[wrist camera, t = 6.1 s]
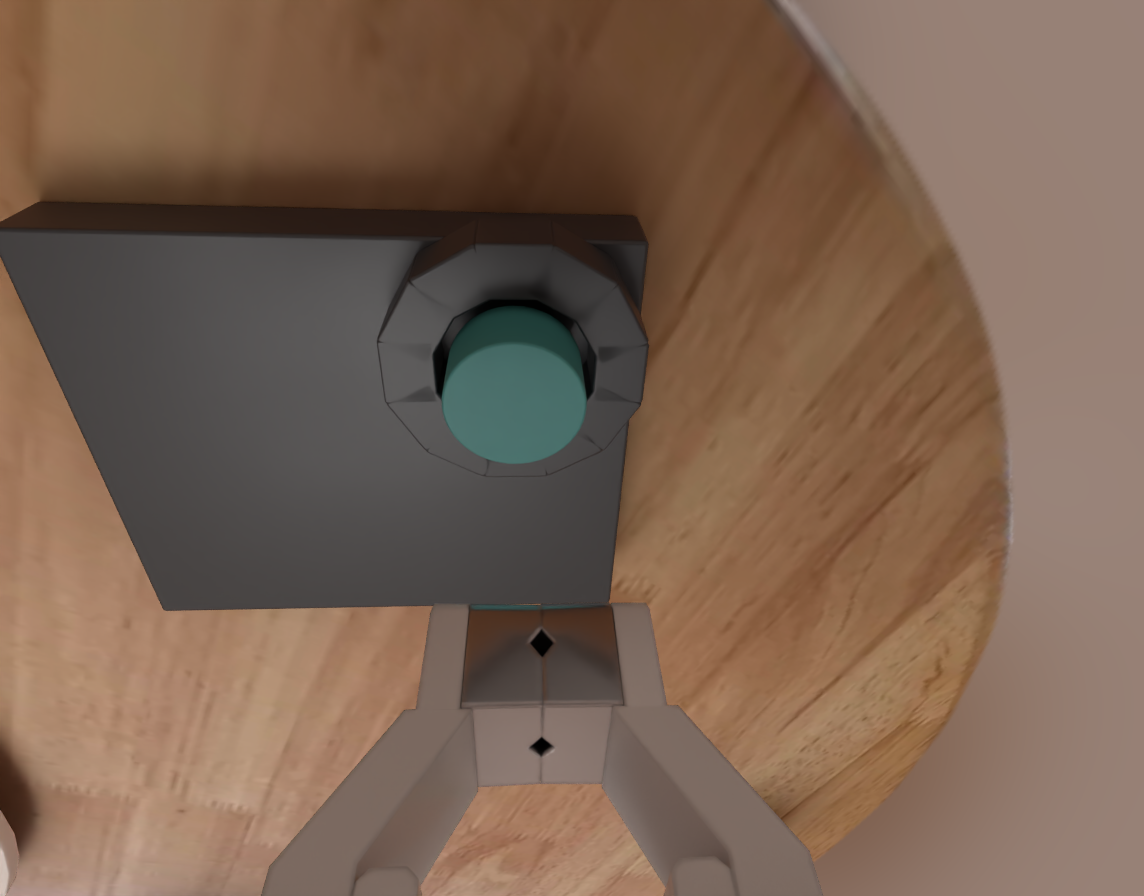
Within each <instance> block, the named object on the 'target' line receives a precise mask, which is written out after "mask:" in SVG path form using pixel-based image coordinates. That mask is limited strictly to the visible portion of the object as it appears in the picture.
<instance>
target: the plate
mask: <svg viewBox="0 0 1144 896" xmlns="http://www.w3.org/2000/svg"><path fill="white" fill-rule="evenodd" d="M18 862H19V852H18V848H17V843H16V839H15V834H14V832H13V830H12V829H11V827H10V825H9V824H8V822H7V820H6V818H5V817H4V815H3V813H2V812H1V810H0V896H6V894H7V893H8V891H9V889H10V887H11V885H12V883H13V881H14V880H15V878H16V873H17V868H18Z"/></svg>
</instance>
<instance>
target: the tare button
mask: <svg viewBox="0 0 1144 896" xmlns="http://www.w3.org/2000/svg"><path fill="white" fill-rule="evenodd" d="M586 408H587V397H586V390H585V383H584V376H583V369H582V363H581V356H580V351H579V348H578V345H577V343H576V341H575V339H574V337H573V336H572V334H571V333H570V332H569V330H568V329H567V328H566V327H565V326H564V325H563V324H562V323H561V322H559V321H558V320H557V319H555V318H554V317H552V316H551V315H549V314H547V313H545V312H543V311H540V310H537V309H534V308H530V307H525V306H503V307H497V308H494V309H490V310H487V311H485V312H483V313H481V314H479V315H477V316H476V317H474V318H472V319H471V320H470V321H469V322H467V323H466V324H465V325H464V326H463V327H462V328H461V330H460V331H459V332H458V334H457V335H456V337H455V339H454V341H453V343H452V345H451V348H450V352H449V357H448V363H447V369H446V375H445V380H444V386H443V392H442V411H443V415H444V419H445V422H446V424H447V426H448V428H449V429H450V431H451V432H452V434H453V435H454V437H455V438H456V439H457V440H458V441H459V442H460V443H461V444H462V445H463V446H464V447H465V448H467V449H468V450H470V451H471V452H473V453H475V454H476V455H478V456H480V457H483V458H485V459H488V460H491V461H495V462H500V463H506V464H524V463H530V462H535V461H539V460H542V459H544V458H547V457H549V456H551V455H553V454H555V453H557V452H558V451H560V450H561V449H563V448H564V447H565V446H566V445H567V444H569V443H570V442H571V440H572V439H573V438H574V437H575V436H576V434H577V433H578V431H579V430H580V428H581V426H582V424H583V421H584V418H585V415H586Z"/></svg>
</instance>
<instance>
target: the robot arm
mask: <svg viewBox="0 0 1144 896" xmlns="http://www.w3.org/2000/svg"><path fill="white" fill-rule="evenodd" d="M527 784H602V788H603V790H604V791H605V793H606V795H607V796H608V798H609V799H610V801H611V802H612V804H613V806H614V807H615V809H616V810H617V812H618V813H619V815H620V817H621V818H622V820H623V821H624V823H625V824H626V826H627V828H628V829H629V831H630V832H631V834H632V835H633V837H634V839H635V840H636V842H637V843H638V845H639V846H640V848H641V850H642V851H643V853H644V854H645V856H646V857H647V859H648V861H649V862H650V864H651V865H652V867H653V868H654V870H655V872H656V873H657V875H658V876H659V878H660V880H661V881H662V883H663V884H664V886H665V887H666V889H665V893H664V896H823V894H822V891H821V887H820V884H819V881H818V877H817V874H816V871H815V868H814V864H813V861H812V858H811V855H810V851H809V850H808V849H807V848H806V847H805V846H804V844H803V843H802V842H801V841H800V840H799V839H798V838H797V837H796V836H795V834H794V833H793V832H792V831H791V830H790V829H789V828H788V827H787V826H786V824H785V823H784V822H783V821H782V820H781V819H780V818H779V817H778V816H777V815H776V813H775V812H774V811H773V810H772V809H771V808H770V807H769V806H768V805H767V803H766V802H765V801H764V800H763V799H762V798H761V797H760V796H759V795H758V793H757V792H756V791H755V790H754V789H753V788H752V787H751V786H750V785H749V783H748V782H747V781H746V780H745V779H744V778H743V777H742V776H741V775H740V774H739V772H738V771H737V770H736V769H735V768H734V767H733V766H732V765H731V764H730V762H729V761H728V760H727V759H726V758H725V757H724V756H723V755H722V754H721V752H720V751H719V750H718V749H717V748H716V747H715V746H714V745H713V744H712V742H711V741H710V740H709V739H708V738H707V737H706V736H705V735H704V734H703V732H702V731H701V730H700V729H699V728H698V727H697V726H696V725H695V724H694V723H693V721H692V720H691V719H690V718H689V717H688V716H687V715H686V714H685V713H684V711H683V710H682V709H681V708H680V707H679V706H678V705H667V702H666V697H665V691H664V686H663V680H662V675H661V669H660V664H659V659H658V653H657V648H656V642H655V637H654V631H653V626H652V620H651V615H650V609H649V607H648V606H647V604H646V603H611V604H610V603H609V602H606V603H556V604H541V605H513V604H434V605H433V608H432V610H431V613H430V618H429V625H428V631H427V638H426V645H425V651H424V658H423V664H422V671H421V678H420V684H419V691H418V698H417V704H416V709H412V710H404V711H403V712H402V713H401V715H400V716H399V717H398V718H397V719H396V720H395V721H394V723H393V724H392V725H391V726H390V727H389V728H388V730H387V731H386V732H385V733H384V734H383V735H382V737H381V738H380V739H379V740H378V741H377V742H376V743H375V745H374V746H373V747H372V748H371V749H370V750H369V752H368V753H367V754H366V755H365V756H364V757H363V759H362V760H361V761H360V762H359V763H358V764H357V766H356V767H355V768H354V769H353V770H352V771H351V772H350V774H349V775H348V776H347V777H346V778H345V779H344V781H343V782H342V783H341V784H340V785H339V786H338V788H337V789H336V790H335V791H334V792H333V793H332V795H331V796H330V797H329V798H328V799H327V800H326V801H325V803H324V804H323V805H322V806H321V807H320V808H319V810H318V811H317V812H316V813H315V814H314V815H313V817H312V818H311V819H310V820H309V821H308V822H307V823H306V825H305V826H304V827H303V828H302V829H301V830H300V832H299V833H298V834H297V835H296V836H295V837H294V839H293V840H292V841H291V842H290V843H289V844H288V846H287V847H286V848H285V849H284V850H283V851H282V852H281V854H280V855H279V856H278V857H277V858H276V859H275V861H274V862H273V863H272V864H271V865H270V866H269V869H268V873H267V876H266V880H265V883H264V887H263V890H262V894H261V896H422V893H421V888H420V886H421V884H422V882H423V881H424V879H425V877H426V876H427V874H428V873H429V871H430V869H431V868H432V866H433V864H434V863H435V861H436V859H437V858H438V856H439V854H440V853H441V851H442V850H443V848H444V846H445V845H446V843H447V841H448V840H449V838H450V836H451V835H452V833H453V831H454V830H455V828H456V827H457V825H458V823H459V822H460V820H461V818H462V817H463V815H464V813H465V812H466V810H467V808H468V807H469V805H470V803H471V802H472V800H473V799H474V797H475V795H476V794H477V792H478V787H489V786H508V785H527Z"/></svg>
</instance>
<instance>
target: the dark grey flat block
mask: <svg viewBox="0 0 1144 896" xmlns="http://www.w3.org/2000/svg"><path fill="white" fill-rule="evenodd" d="M647 253H648V241H647V239H646V236H645V234H644V232H643V229H642V227H641V225H640V222H639V220H638V218H637V217H636V216H624V215H581V214H537V213H494V212H450V211H407V210H364V209H320V208H277V207H233V206H190V205H146V204H103V203H59V202H37V203H35V204H33V205H32V206H30V207H28V208H26V209H24V210H22V211H20V212H18V213H17V214H15V215H13V216H11V217H9V218H7V219H5V220H3V221H2V222H0V257H1V259H2V261H3V263H4V266H5V268H6V270H7V272H8V274H9V276H10V279H11V281H12V283H13V285H14V287H15V289H16V292H17V294H18V296H19V298H20V300H21V302H22V305H23V307H24V309H25V311H26V313H27V315H28V318H29V320H30V322H31V324H32V326H33V328H34V331H35V333H36V335H37V337H38V339H39V341H40V344H41V346H42V348H43V350H44V352H45V354H46V357H47V359H48V361H49V363H50V365H51V367H52V369H53V372H54V374H55V376H56V378H57V380H58V382H59V385H60V387H61V389H62V391H63V393H64V395H65V398H66V400H67V402H68V404H69V406H70V408H71V411H72V413H73V415H74V417H75V419H76V421H77V424H78V426H79V428H80V430H81V432H82V434H83V437H84V439H85V441H86V443H87V445H88V447H89V450H90V452H91V454H92V456H93V458H94V460H95V463H96V465H97V467H98V469H99V471H100V473H101V476H102V478H103V480H104V482H105V484H106V486H107V489H108V491H109V493H110V495H111V497H112V499H113V502H114V504H115V506H116V508H117V510H118V512H119V515H120V517H121V519H122V521H123V523H124V525H125V528H126V530H127V532H128V534H129V536H130V538H131V541H132V543H133V545H134V547H135V549H136V551H137V553H138V556H139V558H140V560H141V562H142V564H143V566H144V569H145V571H146V573H147V575H148V577H149V579H150V582H151V584H152V586H153V588H154V590H155V592H156V595H157V597H158V599H159V601H160V603H161V605H162V608H163V609H164V610H165V611H181V610H233V609H286V608H338V607H390V606H433V605H434V604H548V603H600V602H609V600H610V591H611V582H612V573H613V564H614V555H615V546H616V537H617V527H618V518H619V509H620V500H621V491H622V482H623V473H624V463H625V454H626V445H627V436H628V427H629V419H630V418H631V417H632V415H633V414H634V413H635V412H636V410H637V409H638V408H639V407H640V405H641V402H642V399H643V391H644V383H645V374H646V366H647V358H648V350H649V344H648V337H647V334H646V331H645V328H644V325H643V322H642V319H641V308H642V299H643V290H644V281H645V271H646V262H647ZM503 306H525V307H530V308H534V309H537V310H540V311H543V312H545V313H547V314H549V315H551V316H552V317H554V318H555V319H557V320H558V321H559V322H561V323H562V324H563V325H564V326H565V327H566V328H567V329H568V330H569V332H570V333H571V334H572V336H573V337H574V339H575V341H576V343H577V345H578V348H579V351H580V356H581V363H582V369H583V376H584V383H585V390H586V397H587V408H586V415H585V418H584V421H583V424H582V426H581V428H580V430H579V431H578V433H577V434H576V436H575V437H574V438H573V439H572V440H571V442H570V443H569V444H567V445H566V446H565V447H564V448H563V449H561V450H560V451H558V452H557V453H555V454H553V455H551V456H549V457H547V458H544V459H542V460H539V461H535V462H530V463H524V464H506V463H500V462H495V461H491V460H488V459H485V458H483V457H480V456H478V455H476V454H475V453H473V452H471V451H470V450H468V449H467V448H465V447H464V446H463V445H462V444H461V443H460V442H459V441H458V440H457V439H456V438H455V437H454V435H453V434H452V432H451V431H450V429H449V428H448V426H447V424H446V422H445V419H444V415H443V411H442V392H443V386H444V380H445V375H446V369H447V363H448V357H449V352H450V348H451V345H452V343H453V341H454V339H455V337H456V335H457V334H458V332H459V331H460V330H461V328H462V327H463V326H464V325H465V324H466V323H467V322H469V321H470V320H471V319H472V318H474V317H476V316H477V315H479V314H481V313H483V312H485V311H487V310H490V309H494V308H497V307H503Z"/></svg>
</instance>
